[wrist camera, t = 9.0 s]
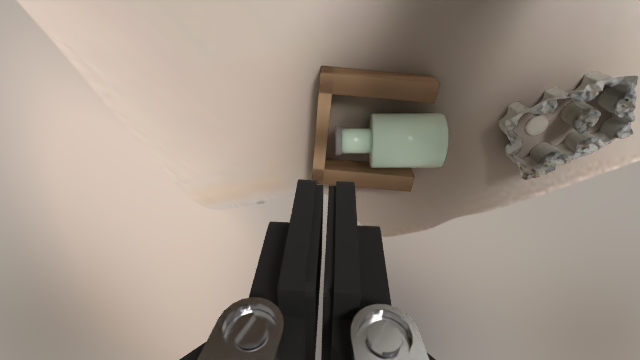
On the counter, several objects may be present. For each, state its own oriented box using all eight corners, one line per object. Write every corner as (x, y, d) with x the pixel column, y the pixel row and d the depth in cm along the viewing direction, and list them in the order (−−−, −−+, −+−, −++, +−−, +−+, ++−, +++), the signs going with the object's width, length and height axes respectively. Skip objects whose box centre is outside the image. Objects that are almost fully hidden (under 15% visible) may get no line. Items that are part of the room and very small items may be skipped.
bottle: (434, 108, 34) (335, 109, 34) (451, 119, 29) (335, 119, 30) (429, 158, 36) (335, 158, 36) (444, 175, 31) (335, 175, 32)
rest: (321, 65, 32) (320, 72, 30) (433, 76, 32) (439, 83, 30) (312, 171, 38) (311, 183, 36) (406, 179, 38) (410, 191, 36)
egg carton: (502, 164, 37) (519, 184, 34) (492, 102, 33) (510, 118, 30) (612, 130, 34) (643, 149, 31) (614, 60, 31) (649, 72, 27)
